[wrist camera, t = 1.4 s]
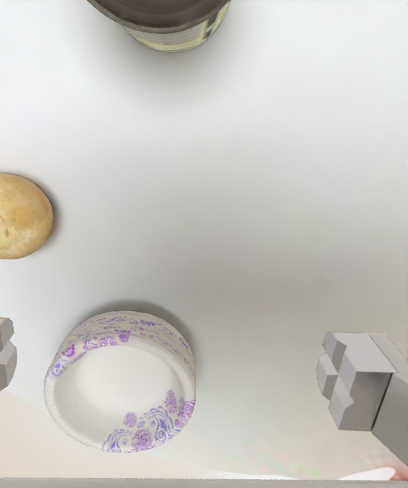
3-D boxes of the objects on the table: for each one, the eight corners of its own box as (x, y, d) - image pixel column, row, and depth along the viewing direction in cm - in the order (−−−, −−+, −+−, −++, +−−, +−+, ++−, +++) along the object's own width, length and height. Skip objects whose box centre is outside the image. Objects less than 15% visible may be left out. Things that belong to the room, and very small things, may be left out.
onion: (68, 183, 36) (42, 204, 30) (52, 253, 39) (25, 287, 33) (-16, 155, 35) (-63, 171, 29) (-27, 230, 38) (-72, 260, 31)
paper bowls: (111, 269, 40) (94, 310, 33) (220, 339, 44) (226, 389, 37) (41, 360, 45) (13, 414, 37) (146, 415, 49) (139, 474, 41)
